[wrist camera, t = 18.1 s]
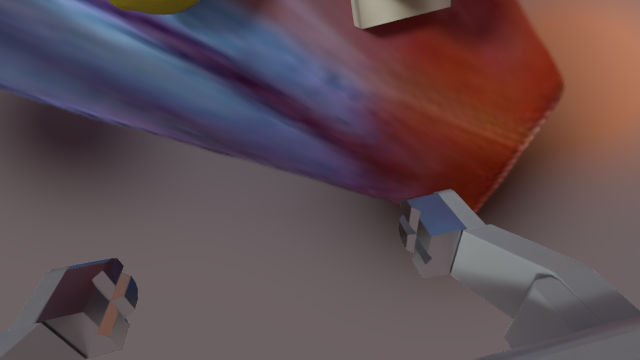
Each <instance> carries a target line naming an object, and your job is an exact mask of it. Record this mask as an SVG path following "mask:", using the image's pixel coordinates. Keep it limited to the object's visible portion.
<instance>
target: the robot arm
mask: <svg viewBox="0 0 640 360" xmlns="http://www.w3.org/2000/svg"><path fill="white" fill-rule="evenodd" d="M400 210H401V211H402V213H403V216H402V217H401V218H400V219H399V234H400V238H401V241H402V243H403V245H404V247H405V249H406V250H408V251H409V252H411V253H413V263H414V265H415V266H416V268H417V270H418V272H419V273H420V275H421V277H422V279H427V278H431V277H437V276H441V275H446V274H451V276H453V277H454V278H455V279H457V280H458V281H459V282H461V283H462V284H464V285H465V286H467V287H468V288H469V289H471V290H472V291H474V292H475V293H477V294H478V295H479V296H481V297H482V298H484V299H485V300H486V301H488V302H489V303H491V304H492V305H494V306H495V307H496V308H498V309H499V310H501V311H502V312H504V313H505V314H506V315H508V316H509V317H511V318H512V319H513V320H512V322H511V324H510V325H509V327H508V329H507V331H506V333H505V337H504V338H505V340H506V341H507V342H508V344H509V345H510V347H511V349H510V350H506V351H503V352H499V353H495V354H491V355H488V356H484V357H481V358H477V359H473V360H640V311H639V310H638V309H637V308H636V307H635V306H634V305H632V303H630V302H629V301H628V300H627V299H626V298H625V297H624V296H622V295H621V294H620V293H619V292H618V291H617V290H616V289H615V288H613V287H612V286H611V285H610V284H609V283H608V282H607V281H606V280H604V279H603V278H602V277H601V276H600V275H599V274H598V273H596V272H595V271H594V270H593V269H592V268H591V267H589V266H588V265H585V264H583V263H581V262H578V261H576V260H574V259H571V258H569V257H567V256H564V255H562V254H559V253H557V252H555V251H553V250H550V249H548V248H546V247H543V246H541V245H539V244H536V243H534V242H532V241H529V240H527V239H525V238H522V237H520V236H518V235H515V234H513V233H511V232H508V231H506V230H504V229H501V228H499V227H496V226H494V225H492V224H489V225H486V224H485V223H484V222H483V221H482V220H481V219H480V218H479V217H478V216H477V215H476V214H475V213H474V212H473V210H472V209H471V208H470V207H469V206H468V205H467V204H466V203H465V202H464V201H463V200H462V199H461V198H460V197H459V195H458V194H457V193H456V192H455V191H454V190H451V189H448V190H443V191H439V192H434V193H430V194H425V195H420V196H416V197H411V198H406V199H403V200H402V201H401V205H400ZM122 269H123V265H122V264H121V262H120V261H119V260H118V259H117V258H110V259H104V260H98V261H93V262H87V263H82V264H76V265H72V266H67V267H62V268H56V269H52V270H51V271H49V272H47V273H46V274H45V275H44V277H43V279H42V280H41V282H40V283H39V285H38V286H37V288H36V289H35V291H34V292H33V294H32V295H31V297H30V298H29V300H28V302H27V303H26V305H25V306H24V308H23V309H22V311H21V312H20V314H19V315H18V317H17V318H16V320H15V321H14V323H13V325H12V326H11V328H10V329H9V330H4V331H2V332H0V360H86V359H88V358H92V357H96V356H100V355H103V354H108V353H111V352H115V351H119V350H122V348H123V345H124V342H125V339H126V336H127V332H128V329H129V326H130V324H129V323H128V321H127V319H126V318H127V317H128V316H129V315H130V314H131V313H132V312H133V311H134V310H135V307H136V304H137V300H138V288H137V285H136V283H135V281H134V279H133V278H132V276H129V275H127V274H125V273H122Z"/></svg>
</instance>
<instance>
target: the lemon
mask: <svg viewBox="0 0 640 360" xmlns="http://www.w3.org/2000/svg"><path fill="white" fill-rule="evenodd" d="M109 1H110V2H111V3H112V4H113V5H114V6H116V7H118V8H119V9H122V10H133V11H140V12H144V13H148V14H163V15H166V14H174V13H178V12H182V11H184V10H186V9H188V8H190V7H192V6H194V5H195V4H197V3H198V2H199V1H200V0H109Z"/></svg>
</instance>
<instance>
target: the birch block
mask: <svg viewBox="0 0 640 360" xmlns="http://www.w3.org/2000/svg"><path fill="white" fill-rule="evenodd" d="M351 4H352V11H353V19H354V26H356V27H359V28H361V29H364V28H368V27H372V26H376V25H380V24H384V23H388V22H392V21H396V20H400V19H404V18H408V17H412V16H416V15H420V14H424V13H428V12H431V11H435V10H439V9H443V8H447V7H451V0H351Z"/></svg>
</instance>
